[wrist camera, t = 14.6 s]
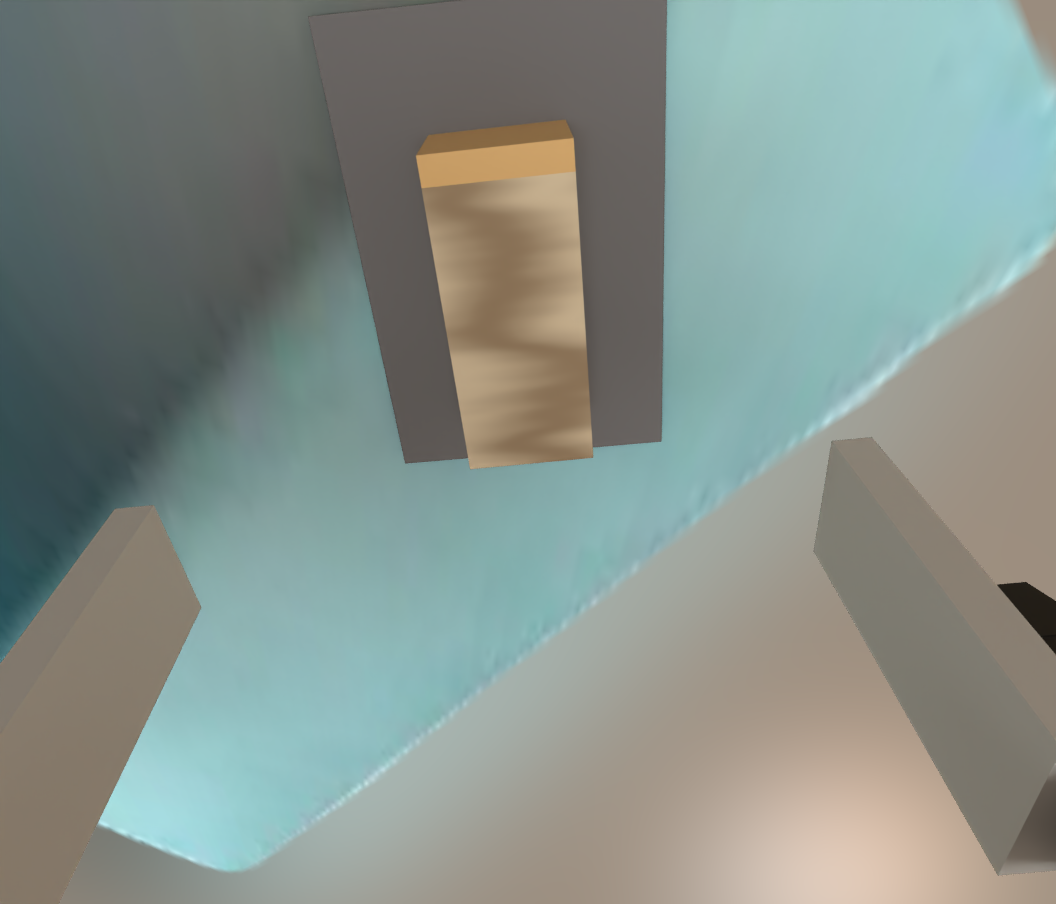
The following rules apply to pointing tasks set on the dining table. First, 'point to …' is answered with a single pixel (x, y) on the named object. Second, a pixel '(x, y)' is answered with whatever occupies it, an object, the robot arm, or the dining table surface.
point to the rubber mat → (496, 101)
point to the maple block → (511, 288)
